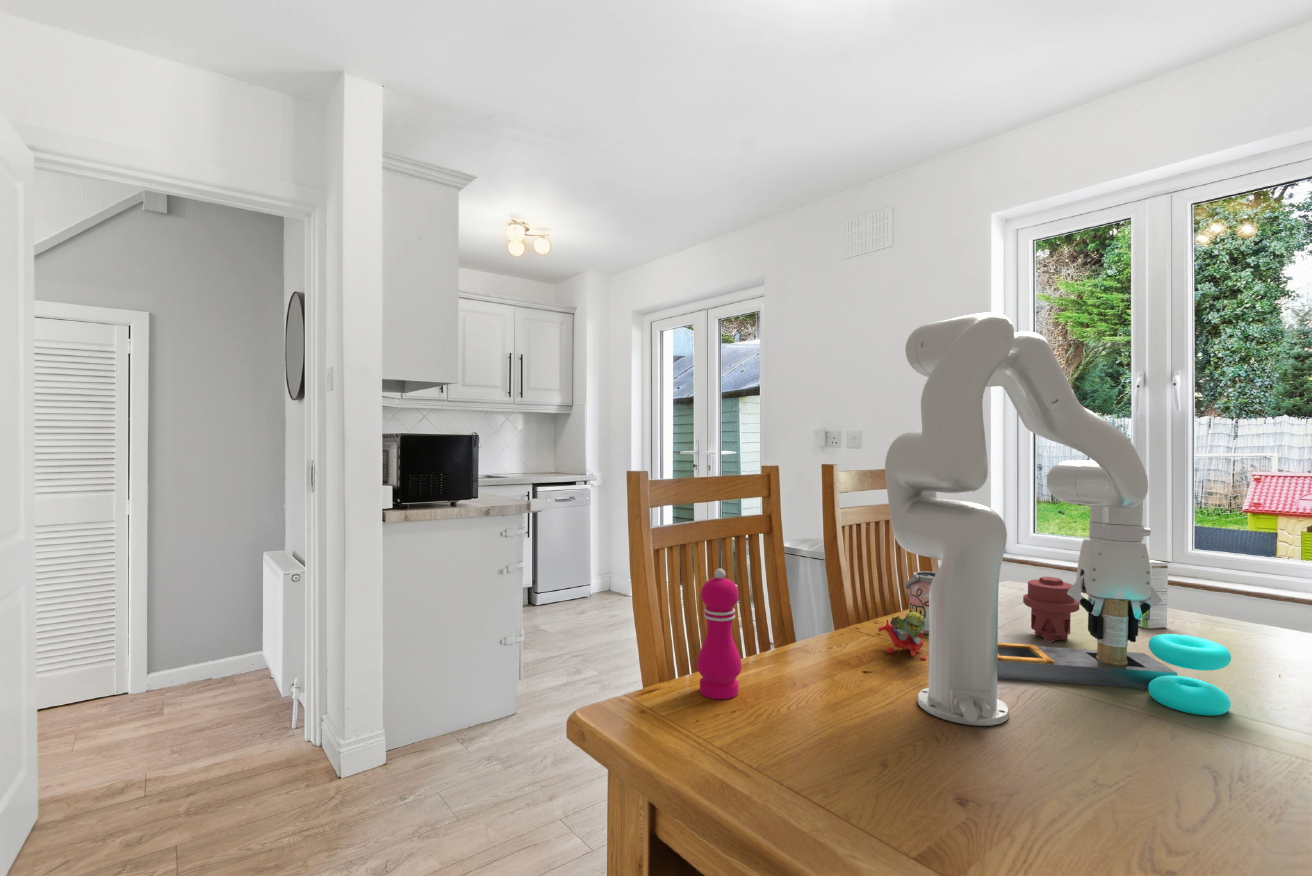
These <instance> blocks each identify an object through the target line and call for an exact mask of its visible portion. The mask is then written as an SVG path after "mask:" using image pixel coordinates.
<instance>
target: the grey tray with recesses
mask: <svg viewBox="0 0 1312 876" xmlns="http://www.w3.org/2000/svg"><path fill="white" fill-rule="evenodd" d="M1096 657H1097V649H1087V648H1086V649H1085V648H1071V647H1070V648H1069V647H1052V646H1038V645H1037V646H1036V645H1035V644H1028V643H1027V644H1024V643H1012V642H1009V643H1008V642H998V666H997V679H1003V680H1014V681H1016V680H1018V681H1031V682H1044V683H1045V682H1046V683H1048V682H1049V683H1057V684H1058V683H1059V684H1071V685H1072V684H1075V685H1086V686H1087V685H1089V686H1103V687H1115V688H1130V689H1132V688H1133V689H1142V690H1144V689H1146V690H1148V686H1149V683H1150V682H1151V681H1152V680H1153V679H1155V678H1157V677H1161V676H1178V672H1177V671H1175V670H1174V669H1172V668H1170V667H1169V666H1166V665H1165V664H1163V663H1162V662H1160V661H1158V660H1156V659H1154V658H1153V657H1151V656H1149V655H1148V654H1146V653H1145V652H1132V651H1127V662H1128V663H1127V665H1125V666H1115V665H1109V664H1105V663H1102V662H1100V661H1098V660H1097V658H1096Z"/></svg>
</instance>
